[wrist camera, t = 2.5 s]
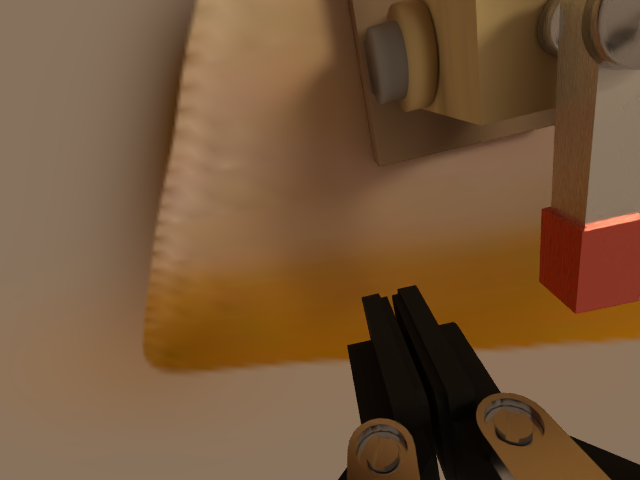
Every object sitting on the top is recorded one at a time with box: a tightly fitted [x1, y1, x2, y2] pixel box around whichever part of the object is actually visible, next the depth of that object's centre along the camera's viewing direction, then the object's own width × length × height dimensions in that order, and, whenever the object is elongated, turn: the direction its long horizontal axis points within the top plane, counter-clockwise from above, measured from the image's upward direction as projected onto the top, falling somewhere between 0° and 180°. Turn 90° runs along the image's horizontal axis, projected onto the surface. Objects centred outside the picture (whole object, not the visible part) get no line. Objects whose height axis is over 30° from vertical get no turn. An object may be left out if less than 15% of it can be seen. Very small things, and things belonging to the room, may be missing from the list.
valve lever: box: [536, 0, 640, 314], centre depth 11 cm, size 10×3×3 cm, turn 13°
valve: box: [348, 0, 558, 166], centre depth 15 cm, size 10×10×9 cm
